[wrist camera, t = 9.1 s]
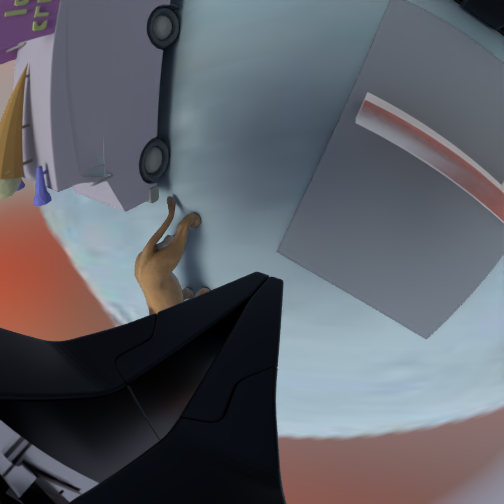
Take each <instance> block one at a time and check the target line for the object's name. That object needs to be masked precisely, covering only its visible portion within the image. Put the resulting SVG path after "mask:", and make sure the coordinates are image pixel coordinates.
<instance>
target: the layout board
mask: <svg viewBox="0 0 504 504" xmlns="http://www.w3.org/2000/svg"><path fill="white" fill-rule="evenodd" d="M365 99H367V100H370V101H372V102H374V103H376V104H378V105H379V106H381V107H383V108H385V109H387V110H389V111H391V112H393V113H395V114H396V115H398V116H400V117H402V118H404V119H405V120H407V121H409V122H410V123H412V124H414V125H415V126H417V127H419V128H420V129H422V130H424V131H425V132H427V133H428V134H430V135H431V136H433V137H434V138H436V139H438V140H439V141H440V142H442V143H443V144H445V145H446V146H448V147H449V148H451V149H452V150H453V151H455V152H456V153H458V154H459V155H460V156H462V157H463V158H464V159H466V160H467V161H468V162H469V163H471V164H472V165H473V166H475V167H476V168H477V169H478V170H480V171H481V172H482V173H483V174H484V175H486V176H487V177H488V178H489V179H490V180H491V181H493V182H494V183H495V184H496V185H497V186H498V187H499V188H501V189H502V190H503V191H504V63H503V62H502V61H501V60H499V59H498V58H497V57H496V56H494V55H493V54H492V53H491V52H489V51H488V50H487V49H485V48H484V47H483V46H481V45H480V44H479V43H477V42H476V41H475V40H473V39H472V38H470V37H469V36H467V35H466V34H464V33H463V32H461V31H460V30H458V29H457V28H455V27H454V26H452V25H450V24H449V23H447V22H445V21H444V20H442V19H440V18H439V17H437V16H435V15H433V14H431V13H430V12H428V11H426V10H424V9H422V8H420V7H418V6H416V5H414V4H412V3H410V2H408V1H406V0H390V1H389V4H388V6H387V9H386V11H385V14H384V16H383V19H382V21H381V23H380V26H379V28H378V31H377V33H376V35H375V38H374V40H373V43H372V45H371V47H370V50H369V52H368V54H367V57H366V59H365V61H364V64H363V66H362V68H361V71H360V73H359V75H358V78H357V80H356V82H355V85H354V87H353V89H352V91H351V94H350V96H349V98H348V100H347V103H346V105H345V107H344V109H343V112H342V114H341V116H340V118H339V121H338V123H337V125H336V127H335V129H334V132H333V134H332V136H331V138H330V140H329V143H328V145H327V147H326V149H325V151H324V154H323V156H322V158H321V160H320V162H319V164H318V167H317V169H316V171H315V173H314V175H313V177H312V179H311V181H310V184H309V186H308V188H307V190H306V192H305V194H304V196H303V198H302V201H301V203H300V205H299V207H298V209H297V211H296V213H295V215H294V217H293V219H292V221H291V224H290V226H289V228H288V230H287V232H286V234H285V236H284V238H283V240H282V242H281V244H280V246H279V248H278V250H277V252H278V253H279V254H281V255H283V256H285V257H286V258H288V259H290V260H292V261H293V262H295V263H297V264H298V265H300V266H302V267H304V268H305V269H307V270H309V271H311V272H312V273H314V274H316V275H318V276H319V277H321V278H323V279H325V280H326V281H328V282H330V283H331V284H333V285H335V286H337V287H338V288H340V289H342V290H343V291H345V292H347V293H349V294H350V295H352V296H354V297H355V298H357V299H359V300H361V301H362V302H364V303H366V304H367V305H369V306H371V307H373V308H374V309H376V310H378V311H379V312H381V313H383V314H384V315H386V316H388V317H390V318H391V319H393V320H395V321H396V322H398V323H400V324H401V325H403V326H405V327H406V328H408V329H410V330H411V331H413V332H415V333H416V334H418V335H420V336H421V337H423V338H425V339H427V338H428V337H430V336H431V335H432V334H433V333H434V332H435V331H436V330H437V329H438V328H439V327H440V326H441V325H442V324H443V323H444V322H445V321H446V320H447V319H448V318H449V317H450V316H451V315H452V314H453V313H454V312H455V311H456V310H457V309H458V308H459V307H460V306H461V305H462V304H463V303H464V302H465V301H466V299H467V298H468V297H469V296H470V295H471V294H472V293H473V292H474V291H475V289H476V288H477V287H478V286H479V285H480V284H481V282H482V281H483V280H484V279H485V278H486V276H487V275H488V274H489V273H490V271H491V270H492V269H493V268H494V266H495V265H496V264H497V262H498V261H499V260H500V258H501V257H502V256H503V254H504V224H503V222H502V221H501V220H500V219H499V218H497V217H496V216H495V215H494V214H493V213H492V212H491V211H489V210H488V209H487V208H486V207H485V206H484V205H482V204H481V203H480V202H479V201H477V200H476V199H475V198H474V197H472V196H471V195H470V194H469V193H467V192H466V191H465V190H463V189H462V188H461V187H459V186H458V185H457V184H455V183H454V182H453V181H451V180H450V179H449V178H447V177H446V176H444V175H443V174H441V173H440V172H439V171H437V170H436V169H434V168H433V167H431V166H430V165H428V164H427V163H425V162H424V161H422V160H420V159H419V158H417V157H416V156H414V155H412V154H411V153H409V152H408V151H406V150H404V149H403V148H401V147H399V146H397V145H396V144H394V143H392V142H390V141H389V140H387V139H385V138H383V137H381V136H380V135H378V134H376V133H374V132H372V131H370V130H368V129H366V128H364V127H362V126H360V125H358V124H356V123H355V122H356V120H357V117H358V115H359V113H360V110H361V108H362V106H363V103H364V101H365Z"/></svg>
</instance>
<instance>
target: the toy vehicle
mask: <svg viewBox="0 0 504 504" xmlns="http://www.w3.org/2000/svg"><path fill="white" fill-rule="evenodd" d="M178 6H179V5H176V4H173V3H170V0H0V64H3V63H5V62H8V61H11V60H14V59H15V71H14V91H13V93H12V95H11V97H10V99H9V102H8V104H7V106H6V109H5V111H4V113H3V116H2V118H1V122H0V199H5V198H7V197H9V196H12V195H13V194H14V193H15V192H16V191H18V190H20V189H22V188H24V187H25V184H24V182H23V181H22V177H24V178H27V179H29V180H31V181H34V182H36V186H35V197H34V205H35V206H41V205H45V204H47V203H48V202H50V201H51V196H50V194H49V193H48V192H47V189H46V187H48V188H50V189H53V190H55V191H58V192H60V191H62V190H64V189H67V188H69V187H72V188H73V189H74V191H75V192H76V193H78V194H80V195H83V196H86V197H88V198H91V199H94V200H96V201H99V202H102V203H104V204H107V205H110V206H112V207H115V208H118V209H120V210H123V211H128V210H130V209H132V208H134V207H136V206H138V205H140V204H142V203H144V202H146V201H147V202H150V203H154V202H155V201H157V200H158V198H159V186H158V185H157V183H154V182H151V181H154V180H156V179H158V178H159V177H160V176H161V175H162V174H163V173H164V171H165V170H166V168H167V165H168V161H169V151H168V147H167V146H166V144H165V143H164V142H163V141H162V140H160V139H158V138H155V137H157V122H158V103H159V89H160V77H161V66H162V57H163V50H161V48H165V47H167V46H168V45H170V44H171V43H173V42H174V40H175V39H176V37H177V36H178V31H179V21H178V18H177V16H176V14H175V13H174V12H173V11H171V10H173V9H177V8H178Z"/></svg>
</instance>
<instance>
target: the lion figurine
mask: <svg viewBox="0 0 504 504" xmlns="http://www.w3.org/2000/svg"><path fill="white" fill-rule="evenodd" d="M167 204H168V209H169V215H168V217H167V219H166V220H165V222H164V223H163V224H162V226H161V227H160V228H159V229H158V230H157V232H156V233H155V234H154V235H153V236H152V238H151V239H150V240H149V242H148V243H147V245H146V246H145V248H144V249H143V251H142V252H141V253H140V254H139V255H138V257H137V259H136V262H135V277H136V279H137V281H138V283H139V285H140V287H141V288H142V291H143V293H144V295H145V298H146V302H147V305H148V308H149V315H151V314H154V313H156V314H157V313H158V312H159V311H162V310H164V309H167V308H169V307H172V306H174V305H177V304H179V303H182V302H184V300H185V299H187V298H194V297H196V296H199V295H201V294H204V293H206V292H208V291H211V290H209V289H208V288H201V289H200V290H199V291H198V292H197V294H196V295H195V296H194V294H193V291H192V290H191V289H189V288H185V289H183V290H182V288H181V286H180V283H179V281H178V279H177V277H176V276H175V275H174V274H173V273H172V271H173V270H174V269H175V267H176V266H177V265H178V263H179V261H180V259H181V257H182V254H183V252H184V249H185V245H186V239H187V234H188V230H189V227H190V226H191V227H192V228H196V227H198V226H199V224H200V223H201V220H200V217H199V216H198V215H196V214H188V215H186V216H185V217H184V218H183V220H182V221H181V222H180V223H179V225H178V228H177V232H176V234H175V236H172V235H167V236H166V237H165V238H164V240H163V241H162V242H161V243H158V244H156V243H157V242H158V241H159V239H160V238H161V237H162V236H163V234H164V233H165V231H166V230H167V228H168V227H169V225H170V223H171V221H172V219H173V217H174V212H175V205H176V202H175V201H174V199H173V198H172V197H171V196H169V197H168V198H167ZM193 296H194V297H193Z"/></svg>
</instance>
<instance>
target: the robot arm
mask: <svg viewBox="0 0 504 504" xmlns="http://www.w3.org/2000/svg"><path fill="white" fill-rule="evenodd" d="M454 1H456V2H458V3H459V4H461V5H462V6H463V7H464V8H465V9H467V10H468V11H470V12H471V13H473V14H474V15H476V16H477V17H479V18H480V19H482V20H483V21H484V22H486V23H487V24H488V25H490V26H491V27H492V28H494V29H497V30H498V31H499V32H501V33H502V34H503V35H504V0H454ZM282 299H283V280H281V279H278V278H275V277H269V276H268V275H266V274H263V273H260V272H254V273H252V274H249V275H247V276H245V277H242V278H240V279H237V280H235V281H233V282H230V283H228V284H225V285H223V286H221V287H218V288H216V289H213V290H211V291H208V292H206V293H204V294H201V295H199V296H196V297H194V298H191V299H189V300H186V301H184V302H182V303H179V304H177V305H174V306H172V307H169V308H167V309H164V310H162V311H159V312H158V313H157V314H156V313H154V314H151V315H149V316H146V317H144V318H141V319H138V320H136V321H133V322H130V323H127V324H124V325H121V326H118V327H114V328H111V329H108V330H104V331H101V332H97V333H93V334H90V335H86V336H82V337H78V338H75V339H71V340H66V341H46V340H41V339H38V338H34V337H30V336H26V335H22V334H19V333H16V332H12V331H9V330H6V329H2V328H0V504H286V500H285V496H284V492H283V487H282V481H281V472H280V461H279V447H278V432H277V419H276V382H277V370H278V369H277V367H278V356H279V343H280V329H281V315H282Z"/></svg>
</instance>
